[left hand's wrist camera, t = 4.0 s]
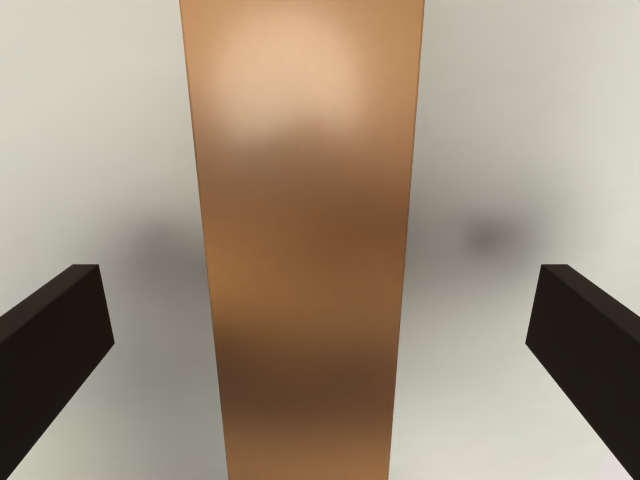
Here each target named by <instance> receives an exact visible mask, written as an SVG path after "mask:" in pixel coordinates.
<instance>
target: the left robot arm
mask: <svg viewBox="0 0 640 480" xmlns="http://www.w3.org/2000/svg"><path fill="white" fill-rule="evenodd" d="M114 344H115V342H114V337H113V332H112V328H111V323H110V318H109V313H108V308H107V303H106V298H105V293H104V288H103V283H102V278H101V274H100V269H99V264H73V265H71V266H70V267H69V268H67V269H66V270H64V271H63V272H62V273H60V274H59V275H58V276H56V277H55V278H53V279H52V280H51V281H49V282H48V283H46V284H45V285H44V286H42V287H41V288H40V289H38V290H37V291H35V292H34V293H33V294H31V295H30V296H29V297H27V298H26V299H24V300H23V301H22V302H20V303H19V304H17V305H16V306H15V307H13V308H12V309H11V310H9V311H8V312H6V313H5V314H4V315H2V316H1V317H0V480H7V478H8V477H9V476H10V475H11V473H12V472H13V471H14V469H15V468H16V467H17V466H18V464H19V463H20V462H21V461H22V459H23V458H24V457H25V456H26V454H27V453H28V452H29V451H30V449H31V448H32V447H33V446H34V444H35V443H36V442H37V441H38V439H39V438H40V437H41V436H42V434H43V433H44V432H45V431H46V429H47V428H48V427H49V425H50V424H51V423H52V422H53V420H54V419H55V418H56V417H57V415H58V414H59V413H60V412H61V410H62V409H63V408H64V407H65V405H66V404H67V403H68V402H69V400H70V399H71V398H72V397H73V395H74V394H75V393H76V392H77V390H78V389H79V388H80V387H81V385H82V384H83V383H84V381H85V380H86V379H87V378H88V376H89V375H90V374H91V373H92V371H93V370H94V369H95V368H96V366H97V365H98V364H99V363H100V361H101V360H102V359H103V358H104V356H105V355H106V354H107V353H108V351H109V350H110V349H111V348H112V346H113V345H114ZM525 344H526V345H527V346H528V348H529V349H530V350H531V351H532V353H533V354H534V355H535V356H536V358H537V359H538V360H539V361H540V363H541V364H542V365H543V366H544V368H545V369H546V370H547V371H548V373H549V374H550V375H551V376H552V378H553V379H554V380H555V381H556V383H557V384H558V385H559V387H560V388H561V389H562V390H563V392H564V393H565V394H566V395H567V397H568V398H569V399H570V400H571V402H572V403H573V404H574V405H575V407H576V408H577V409H578V410H579V412H580V413H581V414H582V415H583V417H584V418H585V419H586V420H587V422H588V423H589V424H590V425H591V427H592V428H593V429H594V431H595V432H596V433H597V434H598V436H599V437H600V438H601V439H602V441H603V442H604V443H605V444H606V446H607V447H608V448H609V449H610V451H611V452H612V453H613V454H614V456H615V457H616V458H617V459H618V461H619V462H620V463H621V464H622V466H623V467H624V468H625V469H626V471H627V472H628V473H629V475H630V476H631V477H632V478H633V480H640V317H639V316H638V315H636V314H635V313H634V312H632V311H631V310H629V309H628V308H627V307H625V306H624V305H623V304H621V303H620V302H618V301H617V300H616V299H614V298H613V297H611V296H610V295H609V294H607V293H606V292H605V291H603V290H602V289H600V288H599V287H598V286H596V285H595V284H594V283H592V282H591V281H589V280H588V279H587V278H585V277H584V276H582V275H581V274H580V273H578V272H577V271H576V270H574V269H573V268H571V267H570V266H569V265H567V264H541V269H540V274H539V278H538V283H537V288H536V293H535V298H534V303H533V308H532V313H531V318H530V323H529V327H528V332H527V337H526V342H525Z"/></svg>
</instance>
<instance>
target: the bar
mask: <svg viewBox="0 0 640 480" xmlns="http://www.w3.org/2000/svg"><path fill="white" fill-rule="evenodd" d="M179 2H180V12H181V22H182V32H183V41H184V51H185V61H186V71H187V80H188V90H189V100H190V110H191V119H192V129H193V139H194V149H195V158H196V168H197V178H198V188H199V197H200V207H201V217H202V226H203V236H204V246H205V256H206V265H207V275H208V285H209V295H210V304H211V314H212V324H213V334H214V343H215V353H216V363H217V373H218V382H219V392H220V402H221V412H222V421H223V431H224V441H225V451H226V460H227V470H228V480H388V475H389V462H390V449H391V436H392V423H393V410H394V397H395V384H396V370H397V357H398V344H399V331H400V318H401V305H402V292H403V279H404V266H405V253H406V240H407V227H408V213H409V200H410V187H411V174H412V161H413V148H414V135H415V122H416V109H417V96H418V83H419V70H420V56H421V43H422V30H423V17H424V4H425V0H179Z"/></svg>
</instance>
